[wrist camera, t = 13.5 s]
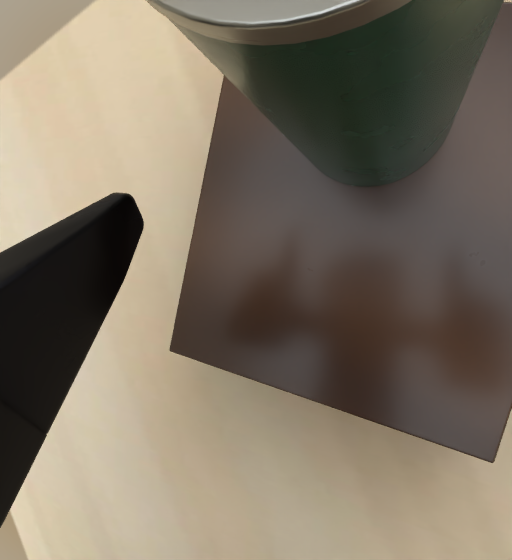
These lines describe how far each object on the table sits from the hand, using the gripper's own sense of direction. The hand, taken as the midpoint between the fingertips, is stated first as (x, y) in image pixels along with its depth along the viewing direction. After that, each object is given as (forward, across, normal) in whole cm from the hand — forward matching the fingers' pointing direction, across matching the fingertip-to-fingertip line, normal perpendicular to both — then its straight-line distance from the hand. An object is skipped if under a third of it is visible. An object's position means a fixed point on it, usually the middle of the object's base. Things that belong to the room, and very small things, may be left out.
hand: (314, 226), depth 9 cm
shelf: (+10, 0, +8) cm, 13 cm away
